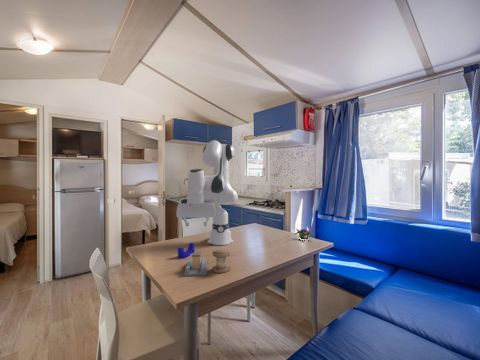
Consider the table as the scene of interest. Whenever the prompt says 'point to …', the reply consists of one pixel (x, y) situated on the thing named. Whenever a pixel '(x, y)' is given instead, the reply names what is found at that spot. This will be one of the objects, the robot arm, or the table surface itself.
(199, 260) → the grey and tan block
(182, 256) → the blue curved block
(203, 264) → the grey channel bracket
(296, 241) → the table surface
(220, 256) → the door knob
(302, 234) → the toy animal
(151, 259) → the table surface
